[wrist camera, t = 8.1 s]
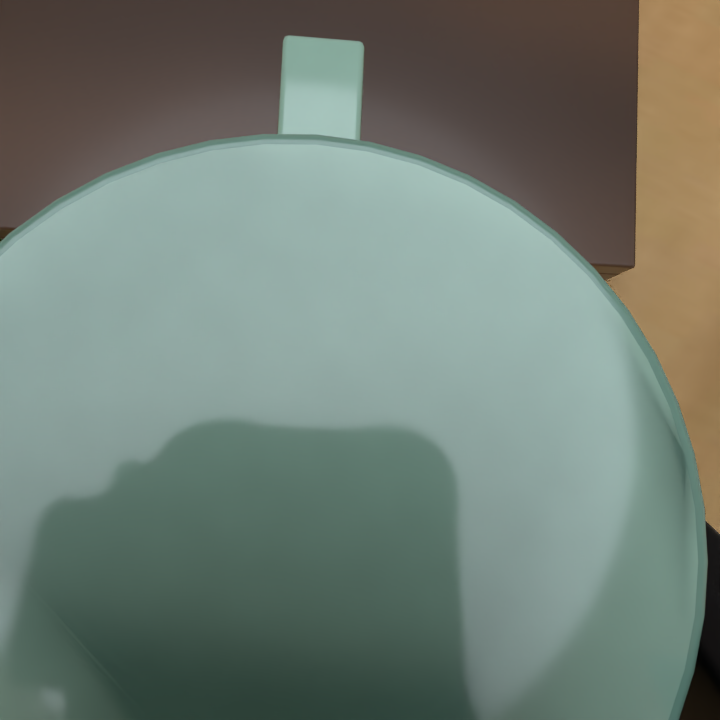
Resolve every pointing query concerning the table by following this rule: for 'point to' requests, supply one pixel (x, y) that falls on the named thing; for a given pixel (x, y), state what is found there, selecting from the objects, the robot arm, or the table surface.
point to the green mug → (332, 445)
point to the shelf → (379, 106)
